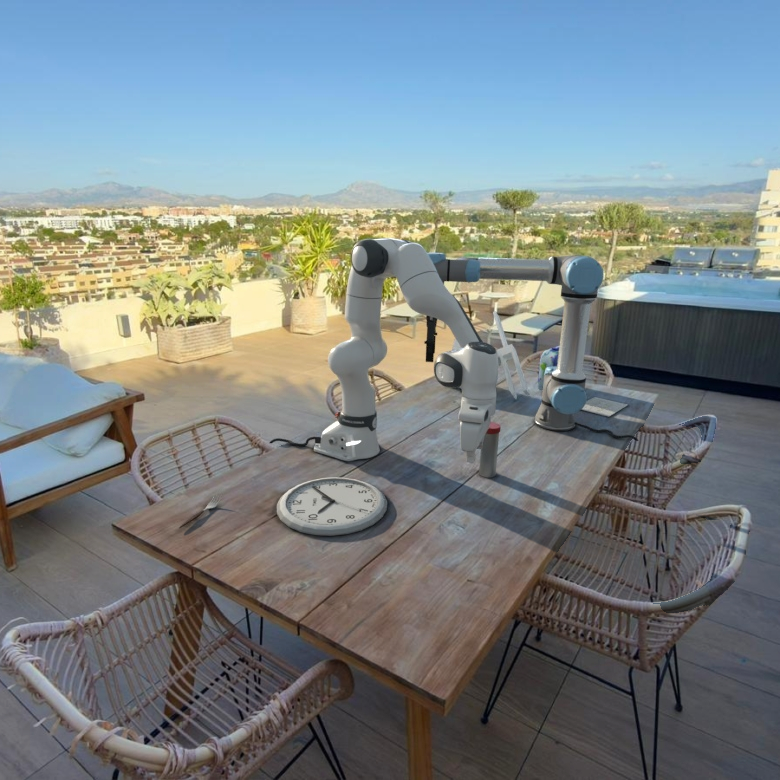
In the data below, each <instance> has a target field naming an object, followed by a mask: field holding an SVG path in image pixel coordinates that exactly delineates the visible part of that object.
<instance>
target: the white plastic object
mask: <svg viewBox="0 0 780 780" xmlns="http://www.w3.org/2000/svg"><path fill="white" fill-rule="evenodd" d="M492 315H493V319H494V321H495V324H496V325H495V326H496V328H497V332H498V335H499V338H500V342H501V345H502V347H500V348H498V349H496V351H497V354H498V368H499V367H500V366H502V370H503V373H504V376H505V380H506V383H507V386H508V390H509V393H510V394H511V395H512V397H513V398H514V399H515V400H517V392H516V391H517V390H516V388H515V385H514V381H513V378H512V375H511V371H510V369H509V365H508V361H510V360H513V363H514V366H515V369H516V372H517V376H518V380H519V382H520V385H521V389H522V391H523V393H524V395H525V396H526V397H528V396H531V395H530V390H529V388H528V387H529V386H528V384H527V381H526V378H525V375H524V371H523V369H522V368H523V367H522V366H521V362H520V359H519V355H518V352H517V349H516V347H515V346H514V345H513V343H511V344H508V341H507V337H506V334H505V331H504V328H503V325H502V321H501V318H500V315H499V314H498V312H497V311H496V310H495V311H492ZM460 348H461V347H460V346H459V344H458V342H457V340H456V338H454V340H453V344H452V349H451V351H452V350H457V349H460Z"/></svg>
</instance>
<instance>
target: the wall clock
mask: <svg viewBox="0 0 780 780" xmlns="http://www.w3.org/2000/svg"><path fill="white" fill-rule="evenodd" d="M387 509H388V500H387V498H386V496H385V494H384V493H383V492H382V491H381V490H380V489H379V488H377V487H376V486H374V485H372V484H371V483H369V482H365V481H362V480H359V479H355V478H349V477H338V476H337V477H335V476H333V477H332V476H331V477H322V478H317V479H312V480H307V481H305V482H302V483H299V484H297V485H295V486H293V487H292V488H290V489H288V490H287V491H286V492H285V493H284V494H283V495H281V496H280V498H279V499H278V502H277V503H276V515H277V517H278V518H279V520H280V521H281V522H282V523H283V524H285V525H286V526H287V527H288V528H290V529H293V530H295V531H297V532H299V533H303V534H308V535H312V536H327V537H328V536H329V537H331V536H332V537H333V536H342V535H350V534H352V533H356V532H361V531H363V530H366V529H368V528H369V527H372V526H373V525H375V524H376V523H378V522H379V521H380V520H381V519H382V518H383V517H384V516H385V514H386V512H387Z"/></svg>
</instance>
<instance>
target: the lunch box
mask: <svg viewBox="0 0 780 780" xmlns="http://www.w3.org/2000/svg"><path fill="white" fill-rule="evenodd" d="M559 346H560V345H558V346H555V347H551V348H549V349H546V350H544V351H543V352H542V353H541V355H540V358H539V365H538V377H537V389H538V390H539V391H543V382H544V373H545V369H546V368H547V367H553V366H557V364H558V355H559Z"/></svg>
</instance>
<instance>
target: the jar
mask: <svg viewBox="0 0 780 780" xmlns="http://www.w3.org/2000/svg"><path fill="white" fill-rule="evenodd" d="M499 438H500V432H499V433H497V434H488V433H486V434H485V436H484V440H483V447H482V448H481V449H480V455H479V466H478V467H479V468H478V474H479V475H480V476H481V477H483V478H487V479H490V478H494V477H496V474H497V464H498V463H497V462H498V461H497V460H498V450H499V440H500V439H499Z"/></svg>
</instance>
